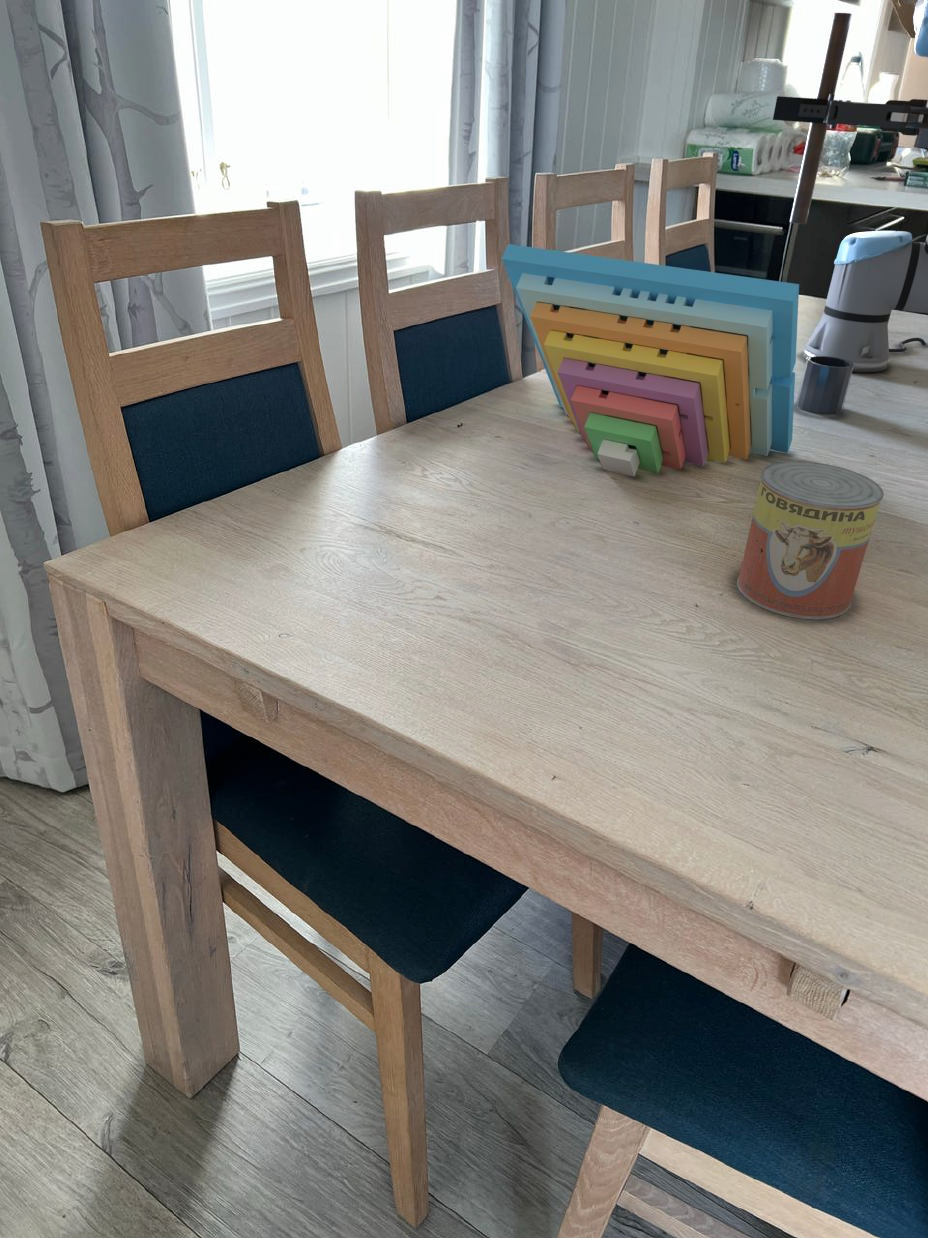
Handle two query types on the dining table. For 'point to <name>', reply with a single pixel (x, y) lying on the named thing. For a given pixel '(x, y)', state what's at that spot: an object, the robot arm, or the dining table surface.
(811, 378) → the holder
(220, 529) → the dining table surface
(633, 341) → the rainbow stepped pyramid
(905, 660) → the dining table surface
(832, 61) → the stick
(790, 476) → the canned food
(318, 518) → the dining table surface
